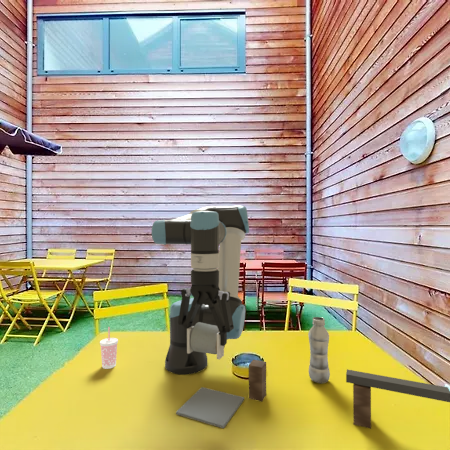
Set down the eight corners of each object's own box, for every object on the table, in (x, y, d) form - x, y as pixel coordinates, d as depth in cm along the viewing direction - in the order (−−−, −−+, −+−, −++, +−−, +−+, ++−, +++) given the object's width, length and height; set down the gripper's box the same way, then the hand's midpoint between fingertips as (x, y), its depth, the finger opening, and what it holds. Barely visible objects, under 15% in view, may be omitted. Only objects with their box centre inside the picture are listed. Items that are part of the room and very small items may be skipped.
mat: (176, 414, 82) (176, 411, 82) (201, 388, 95) (201, 386, 95) (223, 428, 76) (223, 426, 76) (244, 399, 89) (244, 397, 89)
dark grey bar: (346, 382, 79) (346, 374, 79) (346, 376, 82) (346, 369, 82) (450, 402, 70) (450, 393, 70) (447, 395, 72) (447, 387, 72)
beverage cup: (97, 365, 111) (97, 326, 111) (114, 360, 115) (114, 323, 115) (103, 371, 107) (103, 330, 107) (120, 366, 111) (120, 327, 111)
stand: (248, 398, 89) (248, 365, 89) (253, 391, 93) (253, 359, 93) (371, 428, 76) (370, 389, 76) (370, 419, 80) (370, 381, 80)
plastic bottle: (319, 388, 95) (319, 323, 95) (304, 378, 101) (303, 317, 101) (334, 383, 98) (334, 320, 98) (318, 374, 104) (318, 314, 104)
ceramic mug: (218, 359, 80) (218, 329, 80) (189, 355, 82) (189, 326, 83) (230, 345, 90) (231, 318, 90) (204, 342, 92) (205, 316, 93)
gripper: (164, 268, 84) (164, 352, 83) (235, 273, 75) (236, 367, 75) (179, 265, 90) (179, 343, 90) (246, 269, 81) (247, 355, 81)
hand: (205, 354), depth 82 cm, fingers closed on ceramic mug, 8 cm apart
